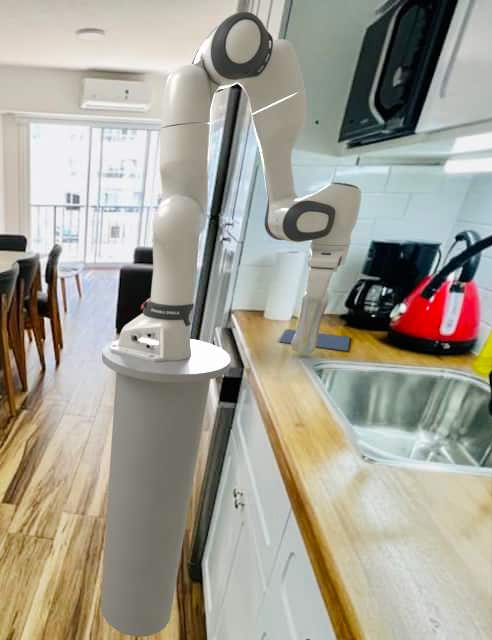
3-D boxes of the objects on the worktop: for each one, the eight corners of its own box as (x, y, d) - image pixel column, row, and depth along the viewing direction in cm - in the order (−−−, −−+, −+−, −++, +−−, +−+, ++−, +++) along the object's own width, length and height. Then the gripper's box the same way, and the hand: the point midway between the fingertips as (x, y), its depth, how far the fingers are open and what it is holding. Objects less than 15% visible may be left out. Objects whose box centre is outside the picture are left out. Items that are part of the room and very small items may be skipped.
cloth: (279, 342, 144) (280, 341, 144) (287, 330, 156) (287, 329, 156) (347, 351, 136) (347, 350, 136) (349, 338, 149) (349, 337, 148)
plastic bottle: (314, 350, 134) (334, 276, 125) (314, 357, 129) (335, 279, 119) (289, 347, 137) (307, 274, 127) (288, 354, 131) (307, 277, 122)
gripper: (316, 251, 130) (304, 303, 137) (308, 260, 115) (294, 318, 121) (343, 252, 127) (328, 305, 134) (338, 261, 112) (322, 321, 118)
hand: (312, 311), depth 127 cm, fingers closed on plastic bottle, 6 cm apart
